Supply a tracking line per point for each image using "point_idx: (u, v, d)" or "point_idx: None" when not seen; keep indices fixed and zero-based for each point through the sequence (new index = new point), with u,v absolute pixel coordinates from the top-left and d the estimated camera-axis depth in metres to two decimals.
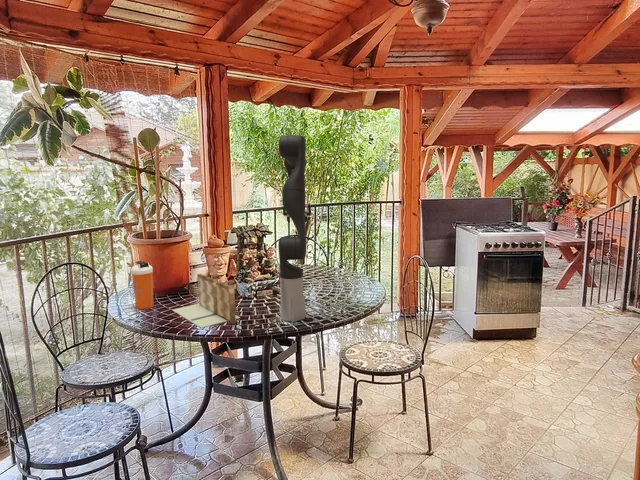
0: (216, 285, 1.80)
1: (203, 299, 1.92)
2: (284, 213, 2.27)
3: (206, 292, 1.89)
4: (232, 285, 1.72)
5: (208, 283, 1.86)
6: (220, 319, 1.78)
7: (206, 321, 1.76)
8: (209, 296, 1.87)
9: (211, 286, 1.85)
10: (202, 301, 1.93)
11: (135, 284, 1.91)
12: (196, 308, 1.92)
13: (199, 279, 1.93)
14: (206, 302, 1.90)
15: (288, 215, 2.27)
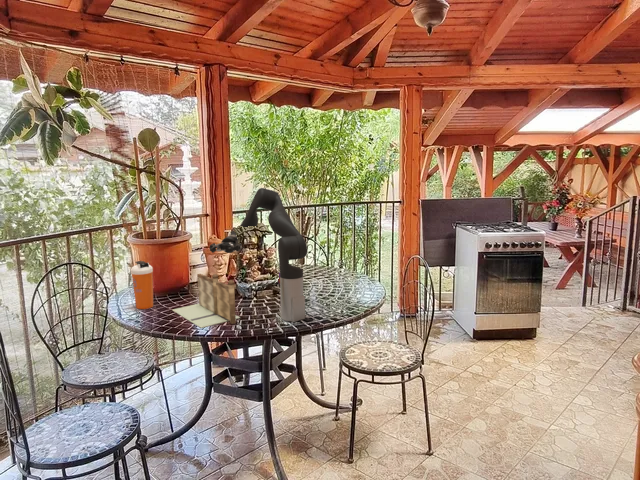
0: (216, 285, 1.80)
1: (203, 299, 1.92)
2: (211, 245, 2.02)
3: (206, 292, 1.89)
4: (232, 285, 1.72)
5: (208, 283, 1.86)
6: (220, 319, 1.78)
7: (206, 321, 1.76)
8: (209, 296, 1.87)
9: (211, 286, 1.85)
10: (202, 301, 1.93)
11: (135, 284, 1.91)
12: (196, 308, 1.92)
13: (199, 279, 1.93)
14: (206, 302, 1.90)
15: (215, 245, 2.01)
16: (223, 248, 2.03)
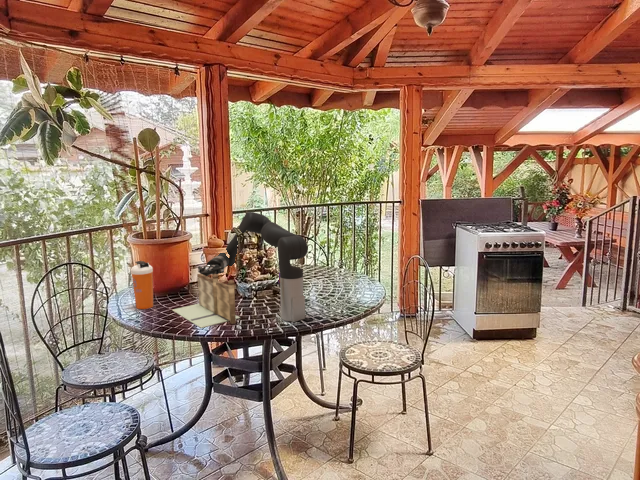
0: (216, 285, 1.80)
1: (203, 299, 1.92)
2: (203, 268, 2.03)
3: (206, 292, 1.89)
4: (232, 285, 1.72)
5: (208, 283, 1.86)
6: (220, 319, 1.78)
7: (206, 321, 1.76)
8: (209, 296, 1.87)
9: (211, 286, 1.85)
10: (202, 301, 1.93)
11: (135, 284, 1.91)
12: (196, 308, 1.92)
13: (199, 279, 1.93)
14: (206, 302, 1.90)
15: (206, 269, 2.02)
16: None
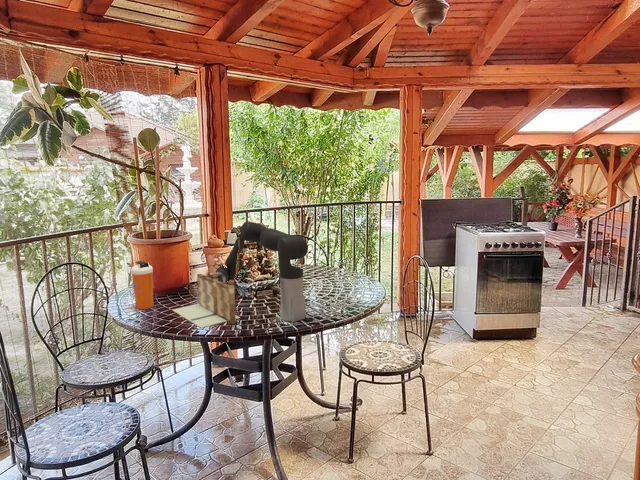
0: (216, 285, 1.80)
1: (203, 299, 1.92)
2: None
3: (206, 292, 1.89)
4: (232, 285, 1.72)
5: (208, 283, 1.86)
6: (220, 319, 1.78)
7: (206, 321, 1.76)
8: (209, 296, 1.87)
9: (211, 286, 1.85)
10: (202, 301, 1.93)
11: (135, 284, 1.91)
12: (196, 308, 1.92)
13: (199, 279, 1.93)
14: (206, 302, 1.90)
15: None
16: None
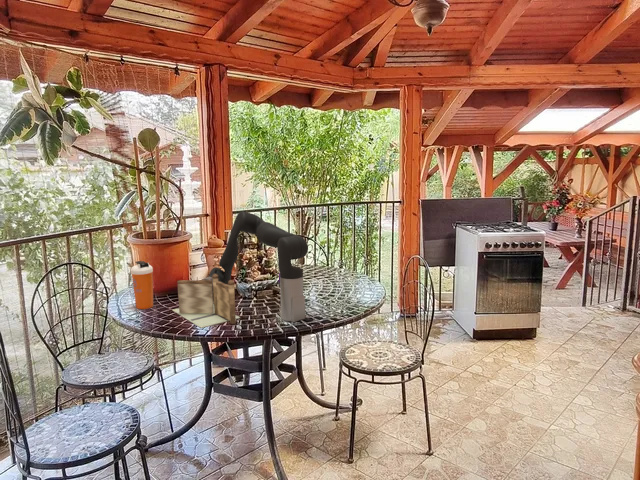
0: (216, 285, 1.80)
1: (189, 306, 1.84)
2: None
3: (197, 296, 1.83)
4: (232, 285, 1.72)
5: (203, 285, 1.82)
6: (220, 319, 1.78)
7: (206, 321, 1.76)
8: (203, 299, 1.83)
9: (208, 287, 1.82)
10: (188, 308, 1.84)
11: (135, 284, 1.91)
12: None
13: (181, 286, 1.83)
14: (196, 307, 1.84)
15: None
16: None
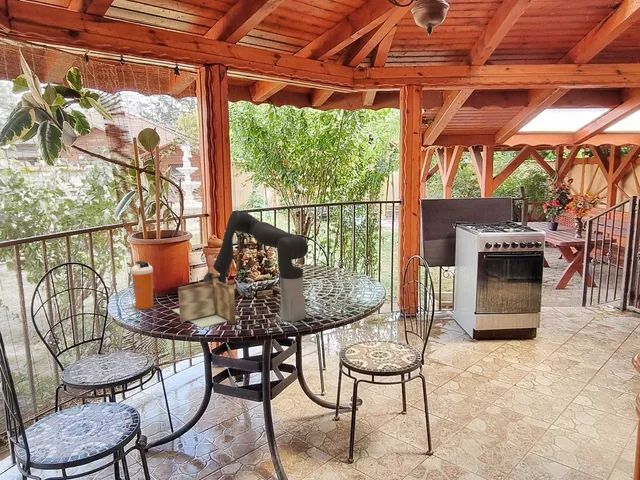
0: (216, 285, 1.80)
1: (191, 312, 1.77)
2: None
3: (199, 300, 1.78)
4: (232, 285, 1.72)
5: (204, 287, 1.79)
6: (220, 319, 1.78)
7: (206, 321, 1.76)
8: (205, 302, 1.80)
9: (210, 289, 1.81)
10: (190, 314, 1.77)
11: (135, 284, 1.91)
12: None
13: (183, 292, 1.74)
14: (198, 311, 1.79)
15: None
16: None
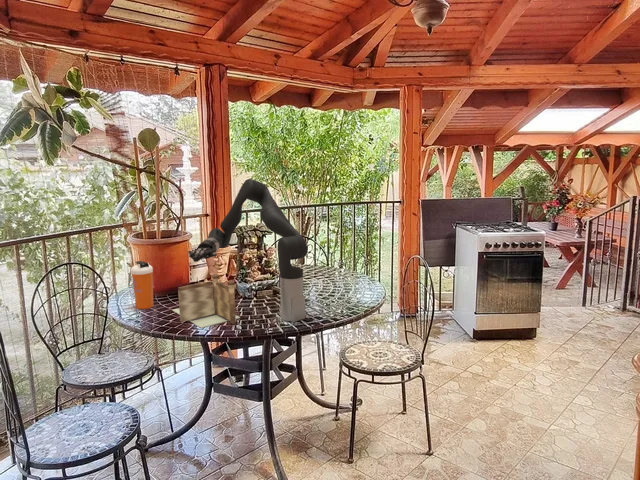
0: (216, 285, 1.80)
1: (191, 312, 1.77)
2: (194, 253, 1.89)
3: (199, 300, 1.78)
4: (232, 285, 1.72)
5: (204, 287, 1.79)
6: (220, 319, 1.78)
7: (206, 321, 1.76)
8: (205, 302, 1.80)
9: (210, 289, 1.81)
10: (190, 314, 1.77)
11: (135, 284, 1.91)
12: None
13: (183, 292, 1.74)
14: (198, 311, 1.79)
15: (197, 253, 1.88)
16: None
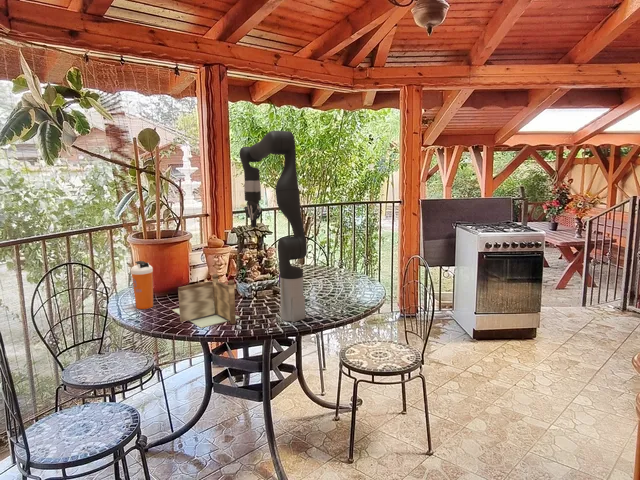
0: (216, 285, 1.80)
1: (191, 312, 1.77)
2: (248, 215, 2.10)
3: (199, 300, 1.78)
4: (232, 285, 1.72)
5: (204, 287, 1.79)
6: (220, 319, 1.78)
7: (206, 321, 1.76)
8: (205, 302, 1.80)
9: (210, 289, 1.81)
10: (190, 314, 1.77)
11: (135, 284, 1.91)
12: None
13: (183, 292, 1.74)
14: (198, 311, 1.79)
15: (250, 217, 2.09)
16: None
